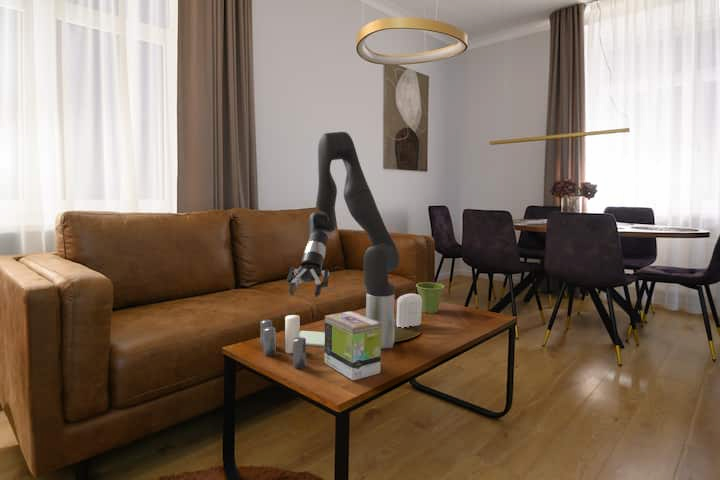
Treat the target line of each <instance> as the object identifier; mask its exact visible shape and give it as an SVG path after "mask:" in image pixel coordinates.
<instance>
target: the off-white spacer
mask: <svg viewBox="0 0 720 480" xmlns="http://www.w3.org/2000/svg"><path fill="white" fill-rule="evenodd" d="M300 319H301V317H300V315H298V314H291V315H289V314H288V315H286V316H285V317H284V321H285V323H284V326H285V327H284V329H285V330H284V332H285V333H284V334H285V338H284V341H285V343H284V344H285V349H284V351H285V353H286V354H292V355H293V339H294V338H297V337H300V332H301V330H300V329H301V328H300V327H301V326H300V325H301V324H300V321H301V320H300Z"/></svg>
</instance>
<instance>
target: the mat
mask: <svg viewBox="0 0 720 480" xmlns="http://www.w3.org/2000/svg"><path fill="white" fill-rule="evenodd" d="M300 337H303V338H305V339H306V346H315V347H325V331H324V332H323V331H312V330H300Z"/></svg>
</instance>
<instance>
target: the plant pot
mask: <svg viewBox="0 0 720 480" xmlns="http://www.w3.org/2000/svg"><path fill="white" fill-rule="evenodd" d="M415 286H416V288H417V292H418V295H420V296H421V298H422V310H421V313H424V314H425V313H427V314H436V313H438V312H439V308H440V303H441V297H442V293H443V289H444V288H445V285H443V283H438V282H418V283H417V284H415Z"/></svg>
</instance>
